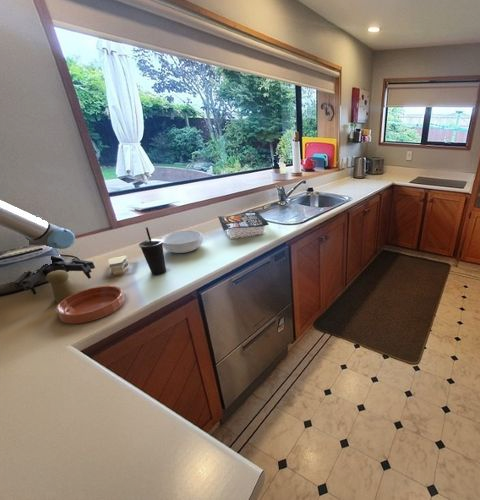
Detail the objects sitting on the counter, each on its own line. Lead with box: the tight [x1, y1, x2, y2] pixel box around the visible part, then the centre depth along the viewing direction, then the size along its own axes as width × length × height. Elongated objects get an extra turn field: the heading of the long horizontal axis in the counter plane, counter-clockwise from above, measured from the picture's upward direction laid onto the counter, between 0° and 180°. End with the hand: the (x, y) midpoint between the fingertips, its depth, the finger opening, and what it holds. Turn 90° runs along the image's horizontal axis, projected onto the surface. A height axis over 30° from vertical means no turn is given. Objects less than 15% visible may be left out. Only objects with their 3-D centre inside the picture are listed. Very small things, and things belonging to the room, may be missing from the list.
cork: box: [45, 270, 78, 304], centre depth 94 cm, size 6×6×11 cm
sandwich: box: [107, 255, 130, 276], centre depth 113 cm, size 10×9×6 cm
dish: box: [55, 285, 126, 325], centre depth 91 cm, size 16×16×4 cm
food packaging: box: [217, 211, 270, 240], centre depth 157 cm, size 25×8×23 cm
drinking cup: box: [138, 226, 167, 276], centre depth 110 cm, size 8×8×20 cm
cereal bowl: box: [160, 230, 204, 254], centre depth 133 cm, size 17×17×7 cm
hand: (62, 282), depth 94 cm, fingers open, 13 cm apart
